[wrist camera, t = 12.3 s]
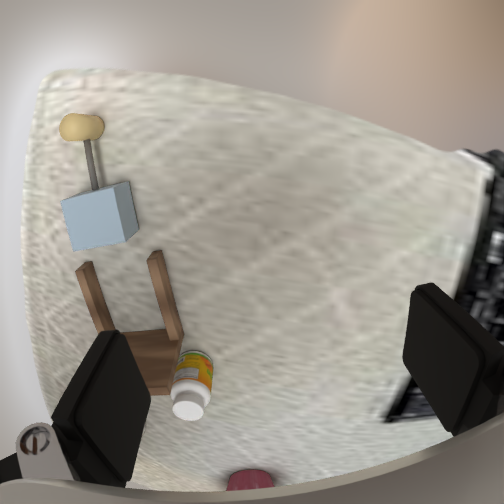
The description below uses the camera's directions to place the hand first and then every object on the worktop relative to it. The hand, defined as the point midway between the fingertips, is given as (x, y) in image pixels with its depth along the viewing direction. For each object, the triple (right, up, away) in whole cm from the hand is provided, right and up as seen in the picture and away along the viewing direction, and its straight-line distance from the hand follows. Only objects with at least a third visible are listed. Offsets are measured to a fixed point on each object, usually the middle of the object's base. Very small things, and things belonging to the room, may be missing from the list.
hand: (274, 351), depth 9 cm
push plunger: (-19, +12, +24) cm, 33 cm away
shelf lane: (-17, -3, +30) cm, 35 cm away
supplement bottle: (-9, -13, +35) cm, 38 cm away
